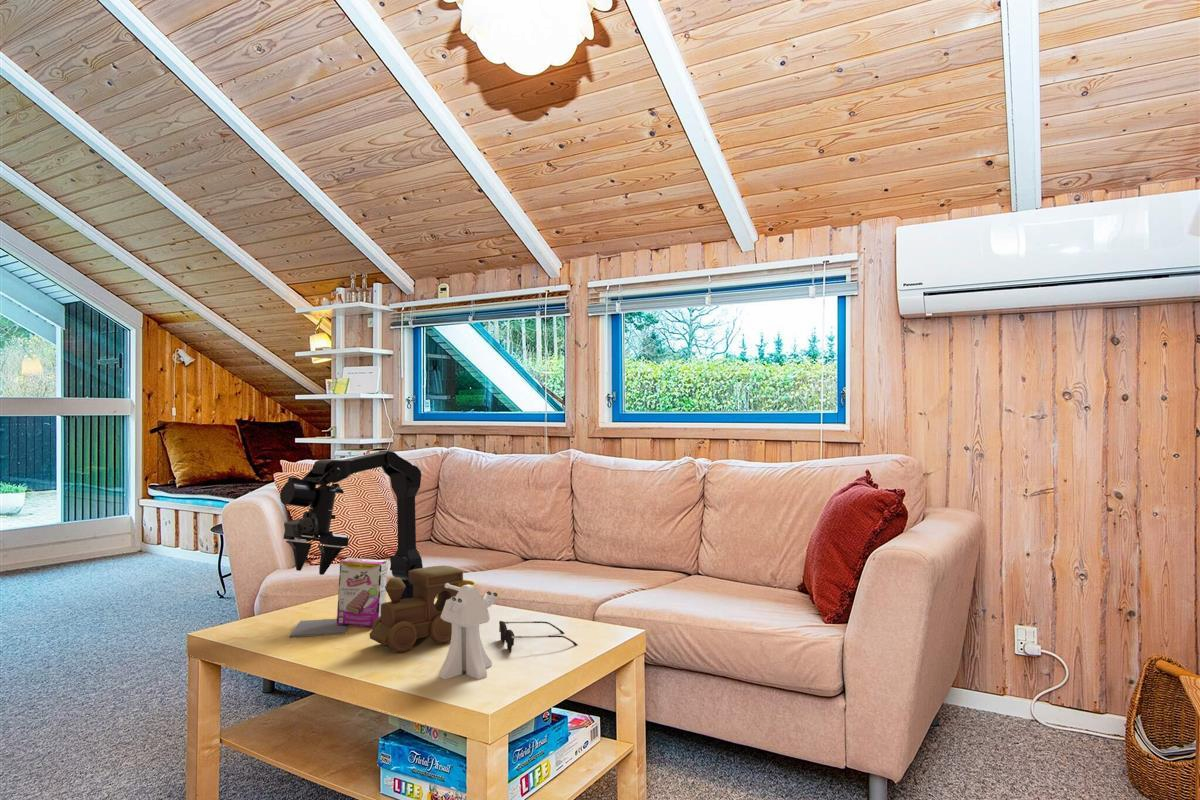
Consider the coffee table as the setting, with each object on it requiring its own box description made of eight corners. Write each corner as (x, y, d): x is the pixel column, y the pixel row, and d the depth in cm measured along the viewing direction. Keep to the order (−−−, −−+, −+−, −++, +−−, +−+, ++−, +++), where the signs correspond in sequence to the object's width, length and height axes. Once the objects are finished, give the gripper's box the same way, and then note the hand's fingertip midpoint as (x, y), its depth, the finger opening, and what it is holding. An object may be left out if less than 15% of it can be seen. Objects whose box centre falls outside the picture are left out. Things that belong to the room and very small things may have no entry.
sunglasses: (498, 640, 191) (499, 619, 191) (562, 637, 196) (563, 616, 196) (511, 656, 178) (512, 633, 178) (579, 652, 183) (580, 630, 183)
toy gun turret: (470, 657, 176) (469, 575, 176) (506, 671, 166) (505, 584, 167) (422, 670, 168) (421, 584, 168) (458, 685, 158) (457, 593, 158)
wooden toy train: (443, 630, 199) (442, 563, 199) (466, 640, 190) (465, 570, 190) (366, 646, 186) (365, 574, 186) (386, 657, 177) (386, 582, 177)
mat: (352, 619, 210) (352, 617, 210) (344, 634, 197) (344, 631, 197) (300, 622, 208) (300, 620, 208) (289, 637, 194) (289, 635, 194)
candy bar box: (335, 625, 202) (338, 560, 203) (343, 620, 207) (347, 557, 208) (378, 628, 201) (381, 563, 201) (385, 623, 206) (388, 559, 206)
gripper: (270, 503, 200) (258, 567, 197) (316, 508, 189) (305, 575, 186) (308, 508, 208) (297, 569, 206) (354, 513, 198) (344, 577, 195)
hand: (309, 572), depth 198 cm, fingers open, 9 cm apart
